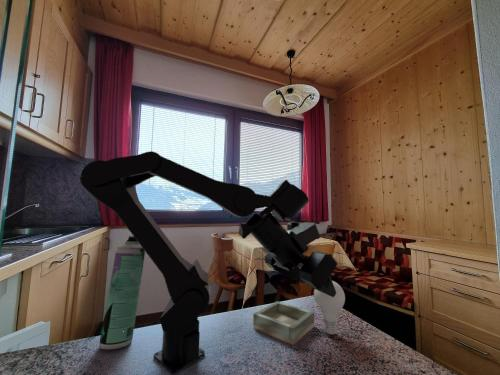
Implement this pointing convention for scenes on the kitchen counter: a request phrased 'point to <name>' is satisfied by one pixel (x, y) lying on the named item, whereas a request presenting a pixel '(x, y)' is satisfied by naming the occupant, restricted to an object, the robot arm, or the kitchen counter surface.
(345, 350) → the kitchen counter surface
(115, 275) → the spray can
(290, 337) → the open box
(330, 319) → the lightbulb
